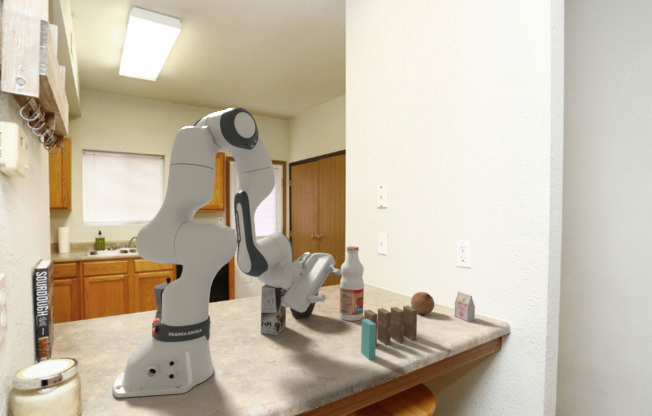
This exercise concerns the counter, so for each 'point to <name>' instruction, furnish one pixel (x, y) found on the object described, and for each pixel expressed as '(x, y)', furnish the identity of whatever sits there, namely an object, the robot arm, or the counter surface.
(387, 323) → the domino
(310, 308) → the plant pot
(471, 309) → the tea bag
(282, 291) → the coffee box
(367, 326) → the teal domino tile
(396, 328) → the domino
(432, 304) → the onion
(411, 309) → the domino
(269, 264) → the robot arm
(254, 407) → the counter surface
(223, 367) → the counter surface
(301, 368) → the counter surface
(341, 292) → the fruit juice
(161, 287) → the coffeepot
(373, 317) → the domino
